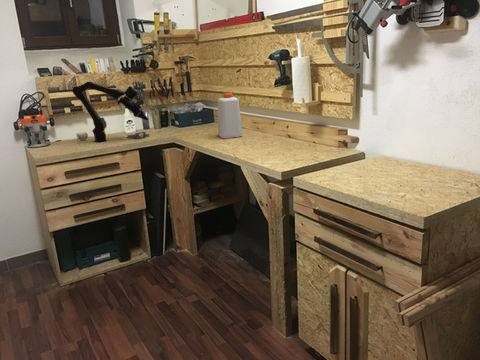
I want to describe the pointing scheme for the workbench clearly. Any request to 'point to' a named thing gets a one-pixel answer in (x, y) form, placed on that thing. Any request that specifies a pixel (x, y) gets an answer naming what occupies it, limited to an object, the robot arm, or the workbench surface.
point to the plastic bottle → (229, 117)
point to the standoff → (146, 121)
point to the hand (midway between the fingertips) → (147, 119)
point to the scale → (138, 135)
